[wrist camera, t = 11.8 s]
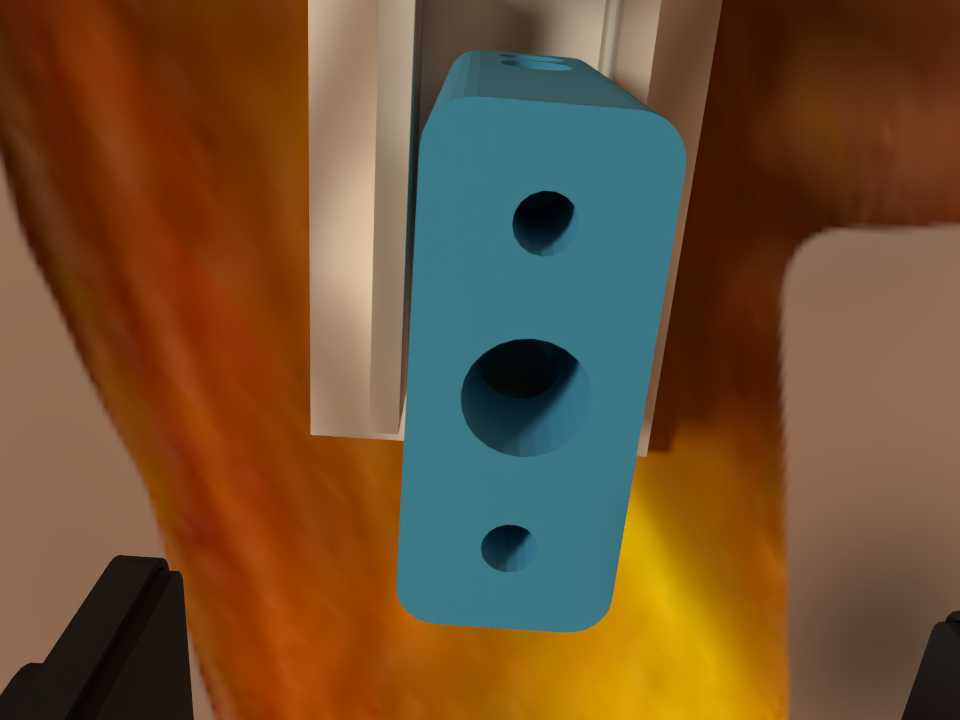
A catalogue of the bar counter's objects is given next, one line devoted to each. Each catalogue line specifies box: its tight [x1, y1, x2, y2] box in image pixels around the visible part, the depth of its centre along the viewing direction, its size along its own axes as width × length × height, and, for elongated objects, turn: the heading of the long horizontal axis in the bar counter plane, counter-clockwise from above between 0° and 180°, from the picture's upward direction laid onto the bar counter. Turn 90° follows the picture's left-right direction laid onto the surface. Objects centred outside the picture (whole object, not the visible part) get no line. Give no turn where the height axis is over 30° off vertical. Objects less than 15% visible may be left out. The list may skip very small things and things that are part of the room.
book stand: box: [308, 0, 723, 457], centre depth 31 cm, size 16×24×16 cm, turn 176°
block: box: [396, 50, 686, 632], centre depth 27 cm, size 12×5×20 cm, turn 175°
